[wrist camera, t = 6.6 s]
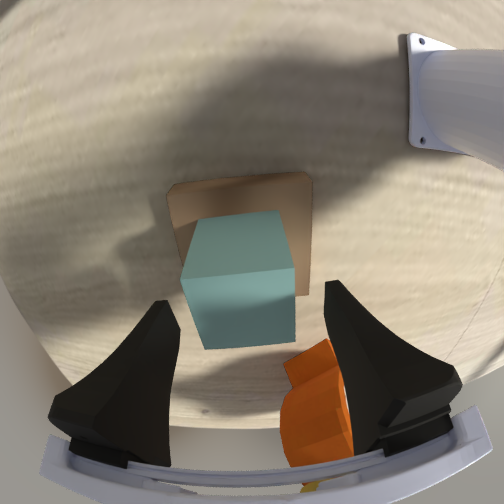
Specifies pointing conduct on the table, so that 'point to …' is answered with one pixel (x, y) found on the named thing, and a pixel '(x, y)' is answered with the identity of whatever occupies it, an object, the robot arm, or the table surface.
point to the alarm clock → (315, 411)
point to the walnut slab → (249, 210)
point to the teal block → (241, 281)
